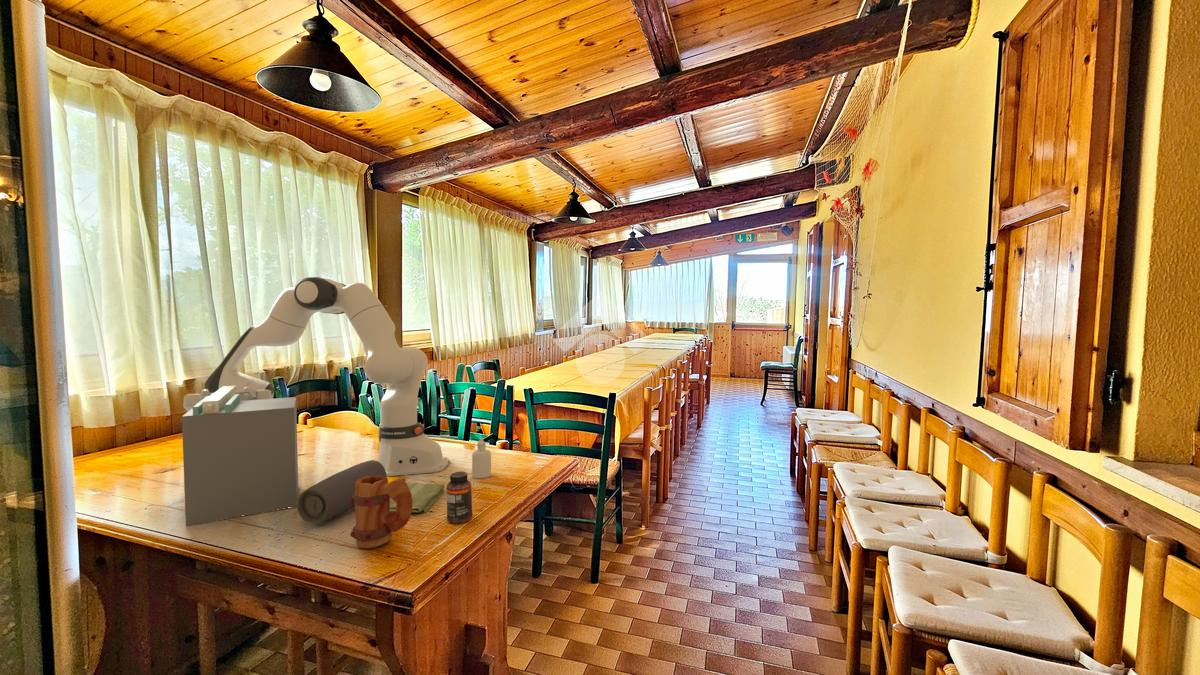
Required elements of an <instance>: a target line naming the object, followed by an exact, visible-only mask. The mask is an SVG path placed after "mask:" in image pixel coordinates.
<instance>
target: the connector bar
mask: <svg viewBox="0 0 1200 675" xmlns="http://www.w3.org/2000/svg"><path fill="white" fill-rule="evenodd" d="M236 391H237V390H236V386H223V387H222V388H220V389H219V390H217V391H216V392H215V393H213V394H212V395H211V396H209V397H208V398H206V399H205V400H204V401H202V408H203V414H209V413H219V412H220V411H221V410H222V409H223V408H224V407H225V404H226V403H227V402H228V401H229V400H230V399H231V398H232V397H233V396H234V395H235V394H236Z"/></svg>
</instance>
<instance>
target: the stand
mask: <svg viewBox="0 0 1200 675" xmlns="http://www.w3.org/2000/svg"><path fill="white" fill-rule="evenodd" d="M208 397H209V396H206V397H205V398H204V399H202V400H201V401H200V402H199V403H197V404H196V405H195V406H193V408H192V409H191V410H189V411H187V412H185V413H184V414H183V415H181V425H182V426H181V430H182V431H181V432H182V434H181V435H182V456H183V458H182V460H183V461H182V462H183V486H184V487H183V488H184V507H185V508H184V510H185V527H188V526H195V525H200V523H201V524H206V522H207V523H212V522H211V521H213V522H217V521H216V520H219V521H222V520H221V519H225V520H227V519H226V518H230V519H233V518H232V517H236V518H238V517H237V516H242V515H248V516H251V515H250V514H254V515H259V514H258V513H260V514H263V513H262V512H266V513H268V512H267V511H271V512H273V511H272V510H277V509H283V508H288V507H295V508H297V507H296V506H297V502H298V496H297V495H299V461H298V455H299V454H298V424H297V423H298V422H297V421H298V420H297V418H298V417H297V413H298V412H297V396H294V397H293V396H292V397H289V396H288V397H279V398H275V397H274V399H261V400H247V401H240V394H235V395H234V396H233V397H232V398H231V399H230V400H229V401H228V402H227V403H226V404H225V407H224V408H223V409H222V410H221V411H220V412H219V413H209V414H203V408H202V401H204V400H205V399H206V398H208ZM283 510H284V509H283ZM277 511H278V510H277ZM242 517H243V516H242Z"/></svg>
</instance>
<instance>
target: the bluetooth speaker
mask: <svg viewBox="0 0 1200 675" xmlns="http://www.w3.org/2000/svg"><path fill="white" fill-rule="evenodd" d="M366 476H374V477H376V476H384V477H387V478H388V476H387V475H386V471H385V469H384V467H383V465H382V464H381V463H380V462H378V460H375V459H372V460H371V459H370V460H366V461H363V462H360V463H357V464H355V465H353V466H351V467H347V468H346V469H344V470H341V471H339V472H337V473H335V474H332V475H331V476H329V477H326V478H324V479H322V480H320V481H319V482H317V483H315V484H313V485H311V486H309V487H308V488H306V489H305V490H304V491H302V492H301V494H300V495H299V497H297V507H296V510H297V513H298V516H300V518H301V519H302V520H303V521H305V522H306V523H309V524H318V523H322V522H325V521H327V520H329V519H330V518H333V519H336V518H339V517H341V516H343V515H345V514H347V513H349V512H350V511H352V510H355V504H353V503H351V502H350V499H351V498H352V497H353V494H354V493H355V483H356V481H357V479H361V478H362V477H366Z"/></svg>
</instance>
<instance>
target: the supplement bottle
mask: <svg viewBox="0 0 1200 675" xmlns="http://www.w3.org/2000/svg"><path fill="white" fill-rule="evenodd" d="M449 480H450V481H449V482H448V483H447V484H446V486H445V487H446V489H445V492H446V495H445V497H446V521H448V523H451V524H464V523H466V522H469V521H470V520H471V519H472V517H473V494H472V492H473V491H472V486H473V485H472V483H471V481H470V480H468V472H466V471H463V470H462V471H455V472H452V473H451V474H450V475H449Z"/></svg>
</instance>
